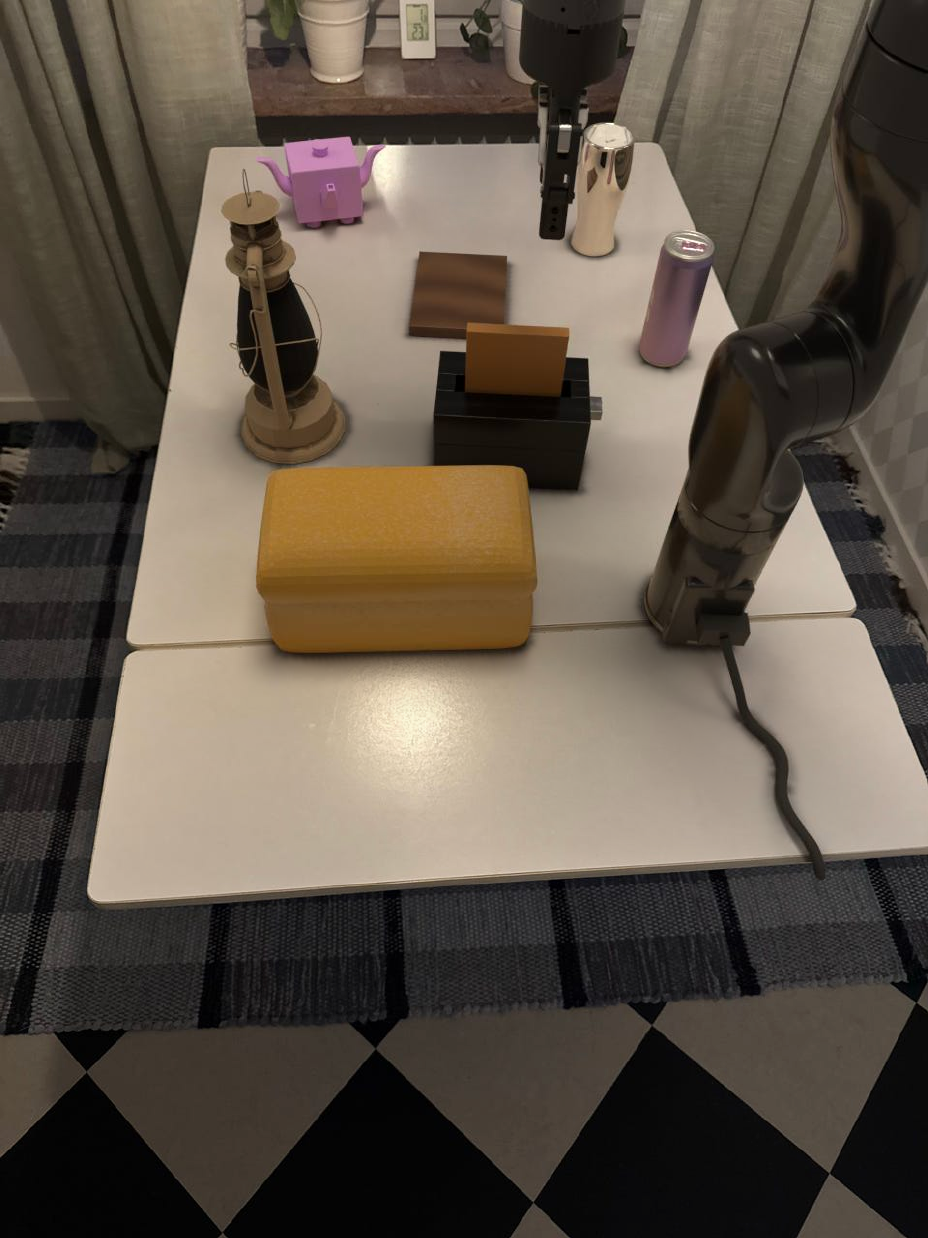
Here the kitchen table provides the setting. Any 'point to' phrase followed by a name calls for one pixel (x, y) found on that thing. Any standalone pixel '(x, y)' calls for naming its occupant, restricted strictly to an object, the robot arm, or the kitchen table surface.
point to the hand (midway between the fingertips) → (551, 209)
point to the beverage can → (676, 297)
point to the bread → (397, 558)
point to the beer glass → (601, 186)
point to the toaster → (515, 425)
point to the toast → (515, 359)
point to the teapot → (324, 179)
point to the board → (457, 293)
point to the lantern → (276, 341)
